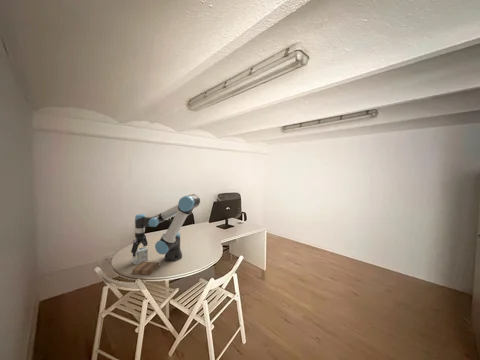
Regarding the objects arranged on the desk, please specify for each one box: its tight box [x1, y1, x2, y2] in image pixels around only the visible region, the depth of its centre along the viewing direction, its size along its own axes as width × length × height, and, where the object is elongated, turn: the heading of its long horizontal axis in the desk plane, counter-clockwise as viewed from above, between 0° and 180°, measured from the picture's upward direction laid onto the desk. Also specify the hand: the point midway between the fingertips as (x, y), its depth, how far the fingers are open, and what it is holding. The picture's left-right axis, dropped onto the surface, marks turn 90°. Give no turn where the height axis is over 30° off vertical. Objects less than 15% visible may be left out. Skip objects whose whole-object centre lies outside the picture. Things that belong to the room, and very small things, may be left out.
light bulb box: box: [131, 246, 149, 266], centre depth 170 cm, size 11×7×11 cm, turn 141°
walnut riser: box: [131, 261, 160, 276], centre depth 157 cm, size 14×14×3 cm
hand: (139, 256), depth 170 cm, fingers open, 13 cm apart
